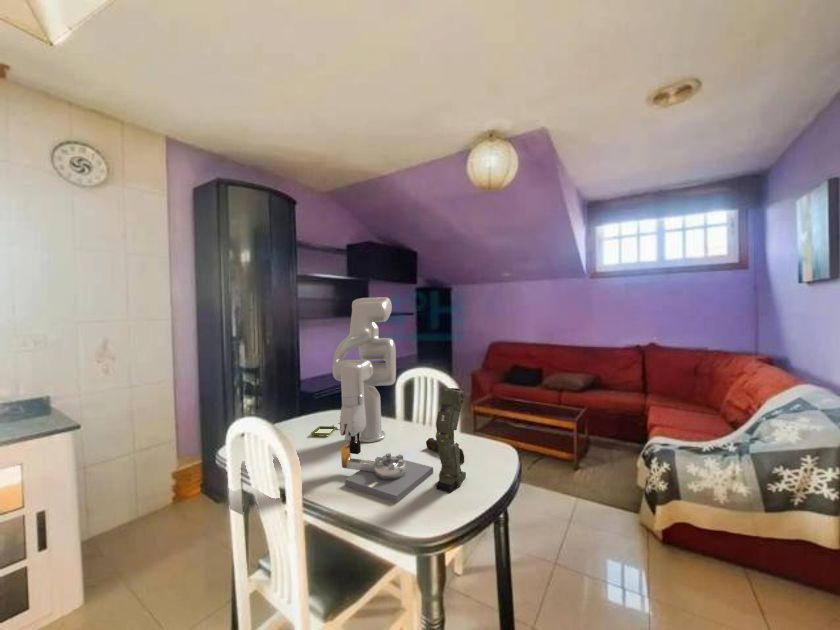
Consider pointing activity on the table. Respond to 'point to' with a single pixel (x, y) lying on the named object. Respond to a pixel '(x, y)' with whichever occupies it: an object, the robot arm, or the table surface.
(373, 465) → the crank handle
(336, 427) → the green rectangular frame
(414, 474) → the nut plate
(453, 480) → the mechanical leg
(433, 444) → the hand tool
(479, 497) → the table surface
